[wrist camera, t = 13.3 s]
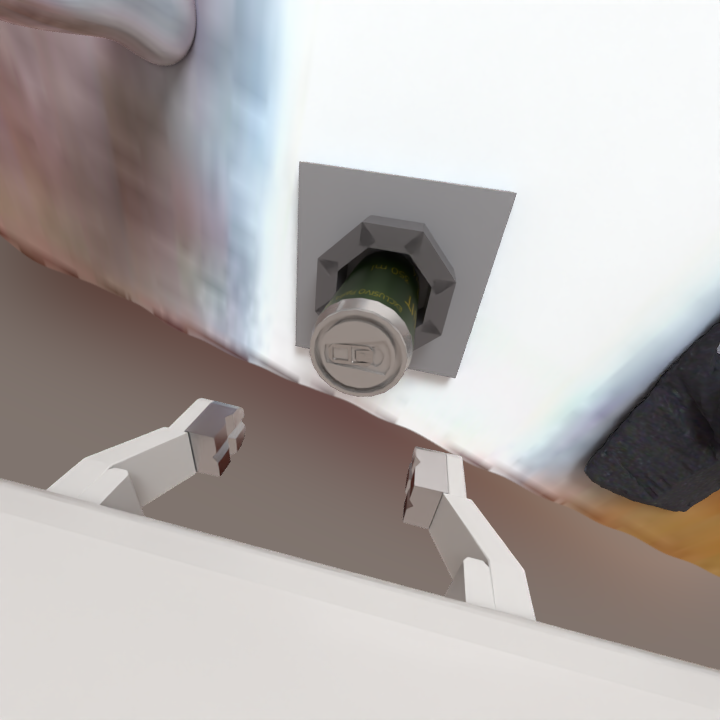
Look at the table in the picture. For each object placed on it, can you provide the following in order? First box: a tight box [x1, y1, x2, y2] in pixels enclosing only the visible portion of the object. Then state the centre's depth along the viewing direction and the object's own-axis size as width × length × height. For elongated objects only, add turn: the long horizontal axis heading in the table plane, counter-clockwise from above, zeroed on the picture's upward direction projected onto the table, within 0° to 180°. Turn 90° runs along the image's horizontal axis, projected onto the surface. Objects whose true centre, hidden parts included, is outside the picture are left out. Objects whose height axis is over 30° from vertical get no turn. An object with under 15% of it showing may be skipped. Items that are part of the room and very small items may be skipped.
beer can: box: [310, 251, 420, 397], centre depth 21 cm, size 5×5×12 cm
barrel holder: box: [296, 162, 517, 378], centre depth 26 cm, size 15×15×5 cm
